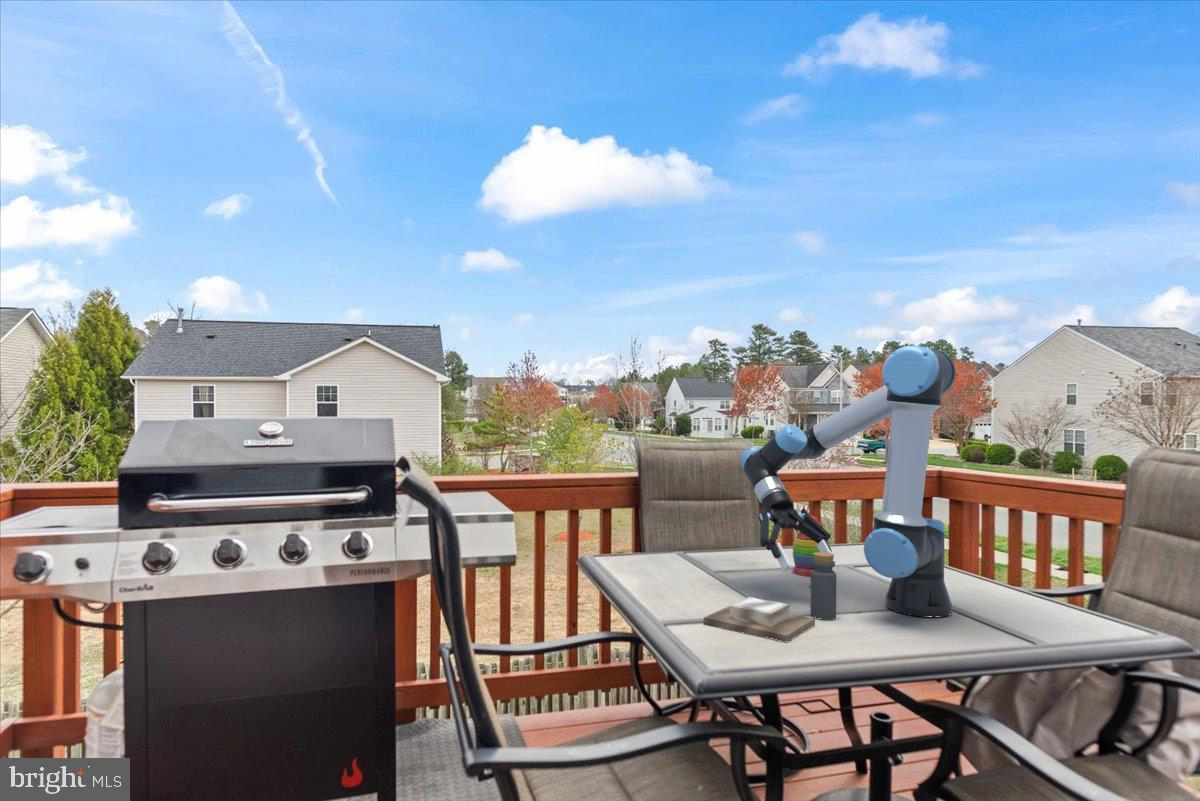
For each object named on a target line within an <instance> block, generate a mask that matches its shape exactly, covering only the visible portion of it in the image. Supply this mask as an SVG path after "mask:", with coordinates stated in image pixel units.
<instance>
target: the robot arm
mask: <svg viewBox="0 0 1200 801" xmlns="http://www.w3.org/2000/svg"><path fill="white" fill-rule="evenodd" d="M956 368H957V367H956V365H955V362H954V360H953V359H952V358H951V357H950V356H949V355H948V354H946V353H945V352H944V351H941V350H938V349H934V348H929V347H927V346H923V345H922V346H921V345H906V346H902V347H899V348H897V349H896V350H894V351H893V352H892V353H891V354H890V355H888V357H887V358H886V359H885V361H884V363H883V365H882V370H881V377H882V381H883V383H884V384H883V386H881V387H879V388H877V389H876V390H874V391H872V392H871V393H869V394H867V395H865V396H863V397H862V398H860V399H858V400H856V401H854V402H852V403H851V404H850V405H849V404H848V405H847V406H845V407H843V408H842V409H841V410H839V411H837V412H835V413H834V414H832V415H830V416H828V417H827V418H824V419H823V420H821V421H820V422H817V423H816V424H814V425H812V426H811V427H808V428H807V429H806V430H802V429H801V428H800V427H798V426H796V425H794V424H792V423H788V424H786V425H784V426H783V427H782V428H781V429H779V430H778V431H777V432H776V434H775V435H773V437H771V438H770V439H769V440H768V441H767V442H766V443H765V444H764V445H763V446H762V447H761V446H752V447H749V449H747V450H744V451H743V452H742V454H741V455H740V458H739V461H740V464H741V468H743V472H744V474H745V476H746V477H747V479H748V481H749V483H750V485H751V486H752V489H753V490H754V492H755V493H754V494H755V495H756V497H757V499H758V500H759V503H760V504H761V507H762V508H763V510H762V511H761V513H760V514H759V515H758V517H757V518H758V520H759V522H760V527H759V528H760V529H759V530H760V533H759V534H760V536H759V538H760V539H759V545H760V546H761V547H762V548H763V547H765V549H766V550H767V551H770V552H771V554H772V555H773V557H774V559H777V561H778V563H779V564H778V565H780V568H781V570H782V572H783V573H784V572H786V571H788V570H789V568H790V567H791V566H792V564H791V563H790V561H789V560H790V559H788V557H787V555H786V553H785V551H784V548H783V546H782V544H781V543H780V542H777V540H778V536H779V534H780V531H781V529H782V530H785V529H789V530H791V529H793V530H794V531H799V533H800V532H802V533H803V534H805V535H806V536H807V537H809V538H810V539H812V540H813V541H815V542H816V543H818V545H817V547H818V549H819V551H820V552H826V553H831V554H833V552H832V551H833V550H832V547H831V546H830V544H829V542H828V541H829V539H831V537H832V535H831V533H829V532H828V531H827V530H826V529H825V528H824V526H823V527H822V526H820V525H819V524H818V523H817V522H816V521H815V520H814V519H813V518H812V517H811V516H810V515H811V514H809V512H808V511H807V510H806V509H805V508H802V509H801V510H800V511H797V510H796V509H795V508H794V502H793V500H792V498H791V497H790V495H789V494H788V492H787V489H786V487H785V486H784V484H783V482H782V480H781V479H780V477H779V475H778V472H779V471H780V470H781V469H783V467H785V466H786V465H787V464H788V463H789V462H790V461H794V460H795V461H796V460H815V459H816V458H820V457H822V456H823V455H824V454H825V453H826V451H827V450H830V449H831V448H833V447H835V446H836V445H838V444H840V443H842V442H845V441H847V440H848V439H850V438H851V437H853V436H855V435H857V434H859V433H861V432H863V431H865V430H867V429H869V428H871V427H872V426H874V425H876V424H878V423H880V422H881V421H883V420H886V419H888V418H889V417H891V419H890V421H891V422H890V430H889V432H890V433H889V440H888V448H887V460H886V468H885V479H884V489H883V494H882V495H883V497H882V506H881V507H882V508H881V509H880V510H879V511H878V512H876V513H875V514H874V518H873V525H872V526H873V527H872V531H871V532H870V533H869V534H868V536H867V537H866V538H865V541H864V545H863V552H864V557H865V561H866V562H867V563H868V564H869V566H870V567H871V568H872V570H874V572H876V573H877V574H879V575H880V576H883V577H885V578H889V579H891V581H890V583H889V587H888V589H887V592H886V595H885V607H886V608H887V607H888V608H889V609H888V608H887V609H888V610H890V609H892V610H895V611H898V612H901V613H900V614H902V613H905V614H904V615H906V614H911V615H916V616H915V617H918V616H932V617H931V618H936V617H935V616H946V617H948V616H947V615H949V614H951V613H952V614H953V605H952V604H953V603H952V601H951V598H950V595H949V591H948V588H947V586H946V582H945V536H946V532H945V525H944V523H943V521H942V520H940V519H936V518H935V519H934V518H926V517H924V516H923V512H922V511H923V504H924V502H923V501H924V492H925V483H926V474H927V467H928V466H927V465H928V464H927V463H928V456H929V447H930V437H931V429H932V419H933V413H934V412H935V411H937V410H939V408H940V407H941V405H942V404H941V403H942V395H944V394H945V393H947V392H948V391H949V390H950V389H951V388H952V386H953V385H954V384H955V381H956V379H957V378H956V377H957V369H956ZM770 521H771V522H772V523H773V526H772V530H771V533H769V532H770ZM798 522H799V524H798ZM819 538H820V539H819ZM833 562H835V564H836V562H837V560H836V559H835V557H834V558H833ZM892 610H891V611H892ZM895 611H894V612H895ZM898 612H897V613H898ZM952 614H951V615H952ZM911 615H910V616H911ZM949 616H950V615H949Z"/></svg>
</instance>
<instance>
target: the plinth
mask: <svg viewBox="0 0 1200 801" xmlns="http://www.w3.org/2000/svg"><path fill="white" fill-rule="evenodd" d="M814 624H815V625H816V618H813V617H808V616H803V615H800V614H799V615H797V614H793V613H790V604H789V603H785V602H779V601H773V600H768V599H762V598H757V597H753V596H748V597H746V598H743V599H742V600H739V601H737V602H735V603H732V604H730V605H728V606H726V607H724V608H722V609H720V610H717V611H715V612H713V613H711V614H709V615H706V616H704V617H703V625H705V626H710V627H713V628H714V627H716V628H720V629H725V630H728V631H732V630H734V631H733V632H737V631H739V632H738V633H741V632H744V633H743V634H746V633H748V634H747V635H750V634H752V635H751V636H754V635H757V636H756V637H759V636H762V637H761V638H763V637H768V638H773V639H777V640H781V641H786V642H787V641H789V640H790V641H792V640H793V639H792V638H794V637H795V636H797V635H798V634H800V633H802V632H803V631H805V630H807V629H808V628H810V627H811V626H813V625H814ZM813 627H814V626H813ZM811 628H812V627H811ZM811 628H810V629H811ZM808 630H809V629H808ZM808 630H807V631H808ZM805 632H806V631H805ZM803 633H804V632H803ZM803 633H802V634H803ZM800 635H801V634H800ZM798 636H799V635H798ZM798 636H797V637H798ZM768 638H767V639H768ZM795 638H796V637H795ZM795 638H794V639H795ZM791 639H792V640H791ZM777 640H776V641H777ZM781 641H780V642H781ZM790 641H789V642H790ZM786 642H785V643H786ZM787 643H788V642H787Z"/></svg>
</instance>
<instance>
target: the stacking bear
mask: <svg viewBox="0 0 1200 801" xmlns="http://www.w3.org/2000/svg"><path fill="white" fill-rule="evenodd" d="M809 515H810V516H811V517H812V518H813V519H814V520H815V521H816V522H817V523H818V524H819V525H820V526H822V527H823V528H824V524H822V522H821V521H820V520H819V518H818V517H817V516H815V515H813V514H812V515H811V514H809ZM798 524H799V522H798V521H797V525H798ZM819 539H820V538H819ZM817 545H818V543H816V542H815V541H813V540H812V539H810V538H809V537H807V536H806V535H805V534H803V533H802V532H800V531H799V532H798V533H797V534H796V537H795V538H794V541H793V546H792V559H793V563H794V567H793V570H792V572H793V573H794V574H795V573H796V574H795V575H799V576H802V575H803V577H810V576H811V571H812V570H814V569H815V566H814V565H813V560H815V559H814V553H816V552H820V551H819V549H818V547H817Z"/></svg>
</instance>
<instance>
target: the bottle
mask: <svg viewBox="0 0 1200 801" xmlns="http://www.w3.org/2000/svg"><path fill="white" fill-rule="evenodd" d="M831 553H832V552H831ZM831 553H826V552H816V553H814V559H815V560H813V565H814V566H815V569H814V570H812V571H811V577H810V617H811V616H813V617H816V618H821V619H833V618H835V619H836V618H837V572H836V571H834V570H833V568H834V567H835V566H836V563H835V562H833V558H835V554H833V553H832V554H831ZM813 617H812V618H813ZM816 618H815V619H816ZM833 620H834V619H833Z"/></svg>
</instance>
